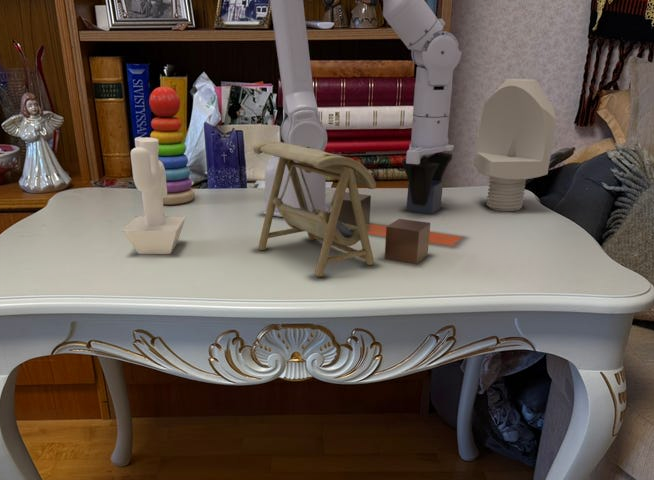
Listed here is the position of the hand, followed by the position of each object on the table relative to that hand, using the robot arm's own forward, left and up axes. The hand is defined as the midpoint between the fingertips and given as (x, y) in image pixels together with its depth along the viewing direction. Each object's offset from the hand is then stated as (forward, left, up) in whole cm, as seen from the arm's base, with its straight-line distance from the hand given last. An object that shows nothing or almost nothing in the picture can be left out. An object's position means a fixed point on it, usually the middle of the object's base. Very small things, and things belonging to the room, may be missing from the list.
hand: (424, 201), depth 111 cm
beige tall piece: (+12, +8, -2) cm, 14 cm away
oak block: (-6, -15, -1) cm, 16 cm away
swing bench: (-5, -31, -2) cm, 31 cm away
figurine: (-25, -38, -2) cm, 46 cm away
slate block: (0, 0, -1) cm, 1 cm away
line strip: (0, -15, -1) cm, 15 cm away
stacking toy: (-41, -15, -2) cm, 44 cm away
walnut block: (+7, -25, -1) cm, 26 cm away
